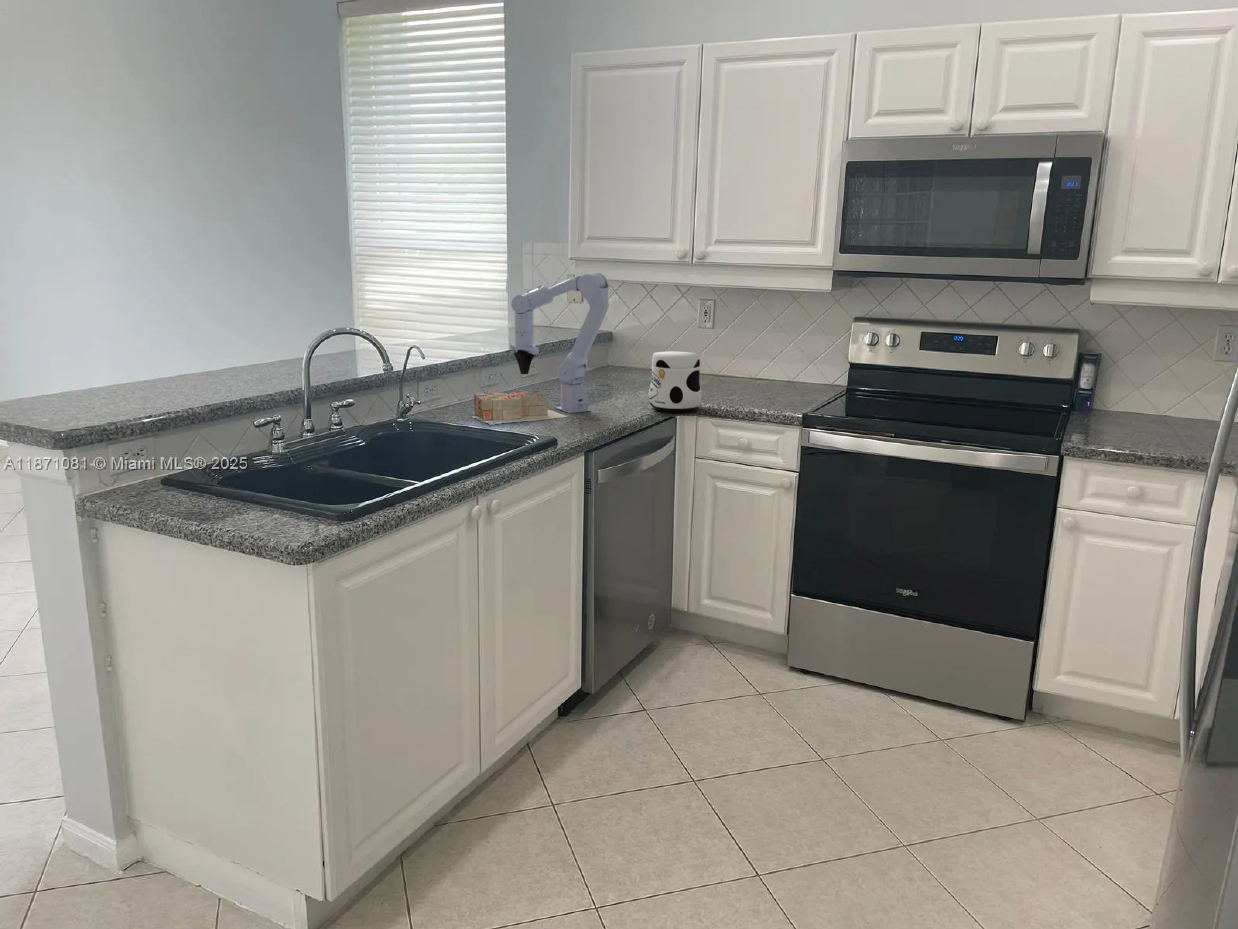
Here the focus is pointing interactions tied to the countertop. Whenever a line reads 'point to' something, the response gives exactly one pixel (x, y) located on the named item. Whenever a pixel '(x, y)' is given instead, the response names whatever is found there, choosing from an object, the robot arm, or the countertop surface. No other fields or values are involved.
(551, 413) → the mat
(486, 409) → the stack of blocks
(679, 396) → the milk container
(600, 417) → the countertop surface
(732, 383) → the countertop surface
